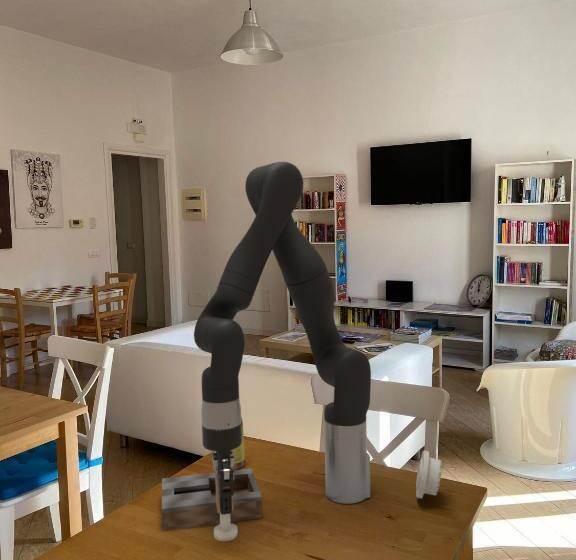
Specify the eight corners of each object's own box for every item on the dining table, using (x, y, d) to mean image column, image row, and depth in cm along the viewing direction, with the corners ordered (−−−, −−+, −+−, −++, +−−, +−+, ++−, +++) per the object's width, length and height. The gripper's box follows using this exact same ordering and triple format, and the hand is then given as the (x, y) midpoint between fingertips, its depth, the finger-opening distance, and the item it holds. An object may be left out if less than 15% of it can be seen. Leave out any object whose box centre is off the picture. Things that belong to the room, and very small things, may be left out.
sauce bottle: (248, 462, 144) (246, 385, 142) (241, 472, 138) (238, 392, 136) (224, 460, 146) (221, 384, 144) (215, 470, 140) (212, 391, 138)
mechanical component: (414, 484, 129) (422, 443, 128) (434, 488, 128) (442, 447, 127) (414, 505, 120) (422, 461, 118) (435, 510, 119) (444, 465, 117)
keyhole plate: (252, 487, 130) (251, 468, 130) (262, 518, 116) (261, 496, 116) (162, 498, 126) (161, 478, 125) (162, 531, 112) (161, 509, 112)
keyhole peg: (236, 527, 113) (234, 471, 112) (239, 539, 109) (237, 481, 108) (212, 530, 112) (210, 474, 111) (214, 543, 108) (212, 484, 107)
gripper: (246, 432, 102) (249, 522, 104) (236, 407, 116) (239, 487, 118) (204, 436, 100) (208, 528, 102) (199, 411, 114) (202, 492, 116)
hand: (224, 506), depth 110 cm, fingers open, 4 cm apart
